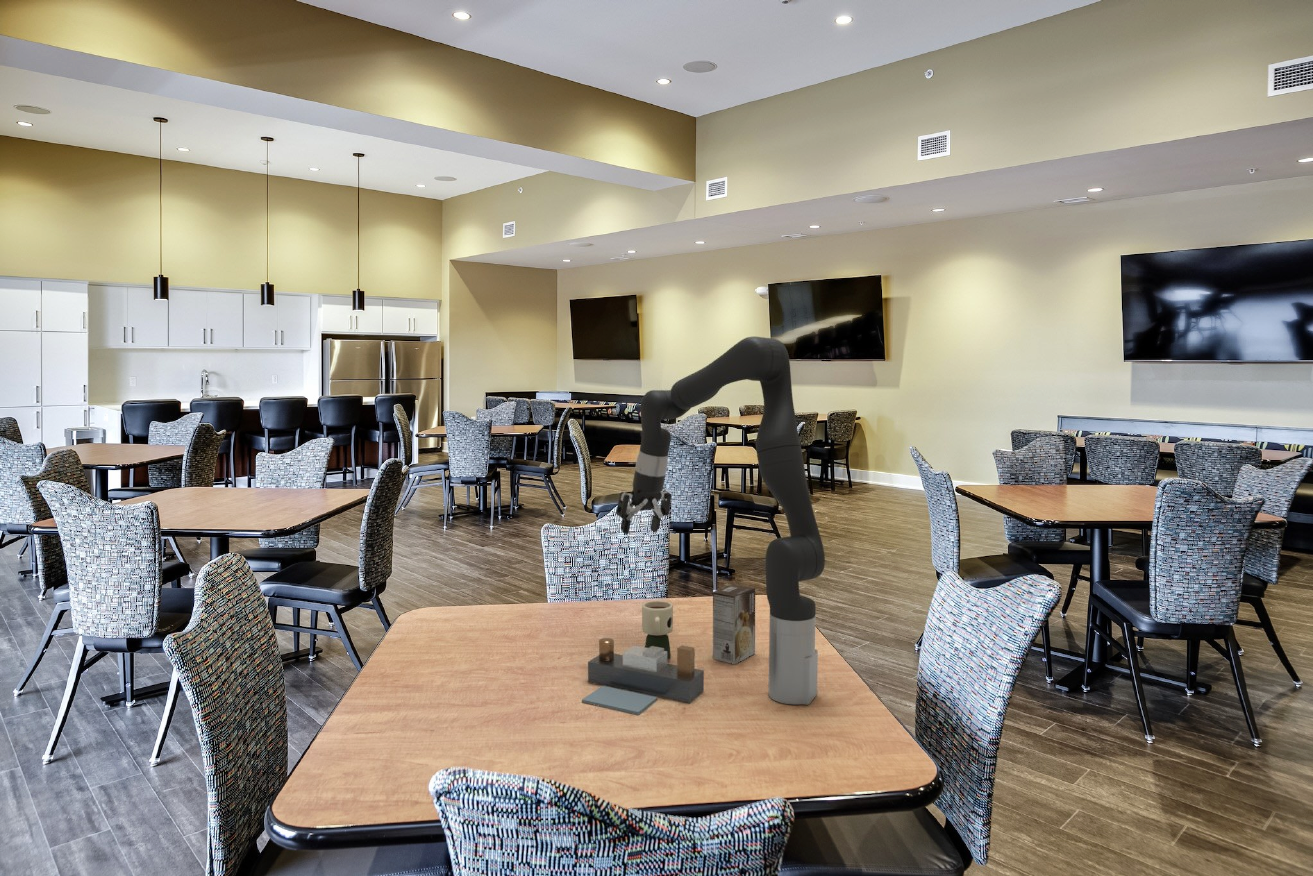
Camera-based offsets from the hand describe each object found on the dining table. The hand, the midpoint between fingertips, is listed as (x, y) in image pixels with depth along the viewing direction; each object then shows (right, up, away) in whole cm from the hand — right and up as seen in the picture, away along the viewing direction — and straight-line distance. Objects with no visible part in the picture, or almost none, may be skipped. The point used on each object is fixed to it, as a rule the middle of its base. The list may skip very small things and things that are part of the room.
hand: (639, 531), depth 200 cm
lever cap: (+2, -25, -30) cm, 39 cm away
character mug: (+4, -28, -13) cm, 32 cm away
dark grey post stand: (+2, -29, -29) cm, 41 cm away
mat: (-3, -30, -37) cm, 48 cm away
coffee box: (+22, -28, -11) cm, 38 cm away
